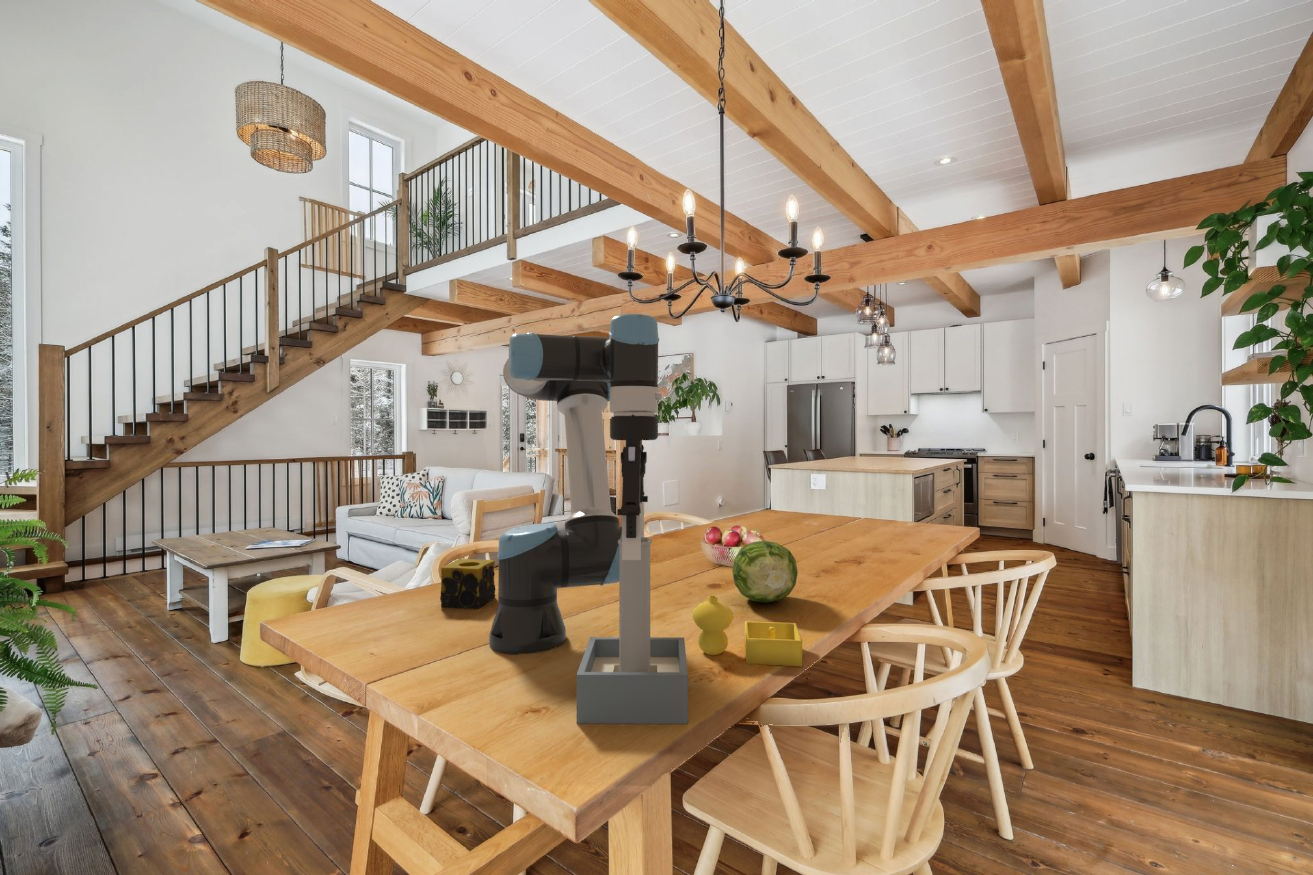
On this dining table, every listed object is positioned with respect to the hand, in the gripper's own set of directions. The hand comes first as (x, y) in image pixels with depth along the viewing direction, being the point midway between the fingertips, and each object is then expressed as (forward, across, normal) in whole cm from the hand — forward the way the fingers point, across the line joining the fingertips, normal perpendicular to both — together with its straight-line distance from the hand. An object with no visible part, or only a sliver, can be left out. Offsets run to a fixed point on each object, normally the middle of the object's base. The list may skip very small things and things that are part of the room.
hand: (633, 550), depth 94 cm
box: (+23, -1, 0) cm, 23 cm away
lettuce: (+24, +52, -30) cm, 64 cm away
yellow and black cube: (+25, +53, +44) cm, 73 cm away
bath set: (+24, +19, -20) cm, 37 cm away
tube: (+24, -1, 0) cm, 24 cm away
